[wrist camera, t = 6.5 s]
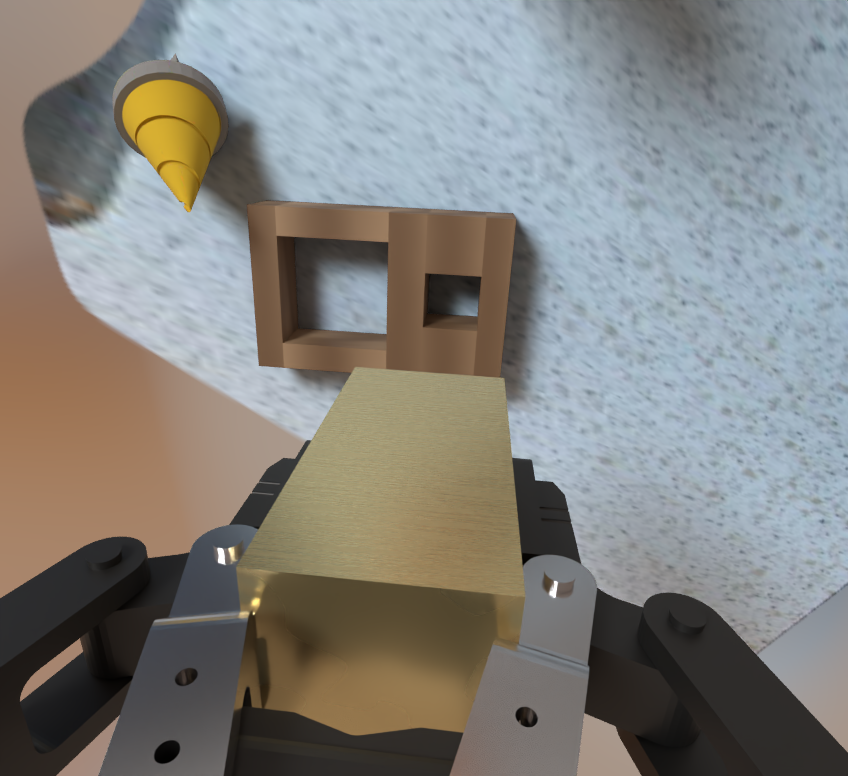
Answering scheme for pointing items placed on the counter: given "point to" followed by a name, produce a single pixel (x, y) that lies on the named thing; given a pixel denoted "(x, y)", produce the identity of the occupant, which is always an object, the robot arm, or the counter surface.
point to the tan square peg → (390, 556)
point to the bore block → (406, 293)
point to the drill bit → (171, 121)
